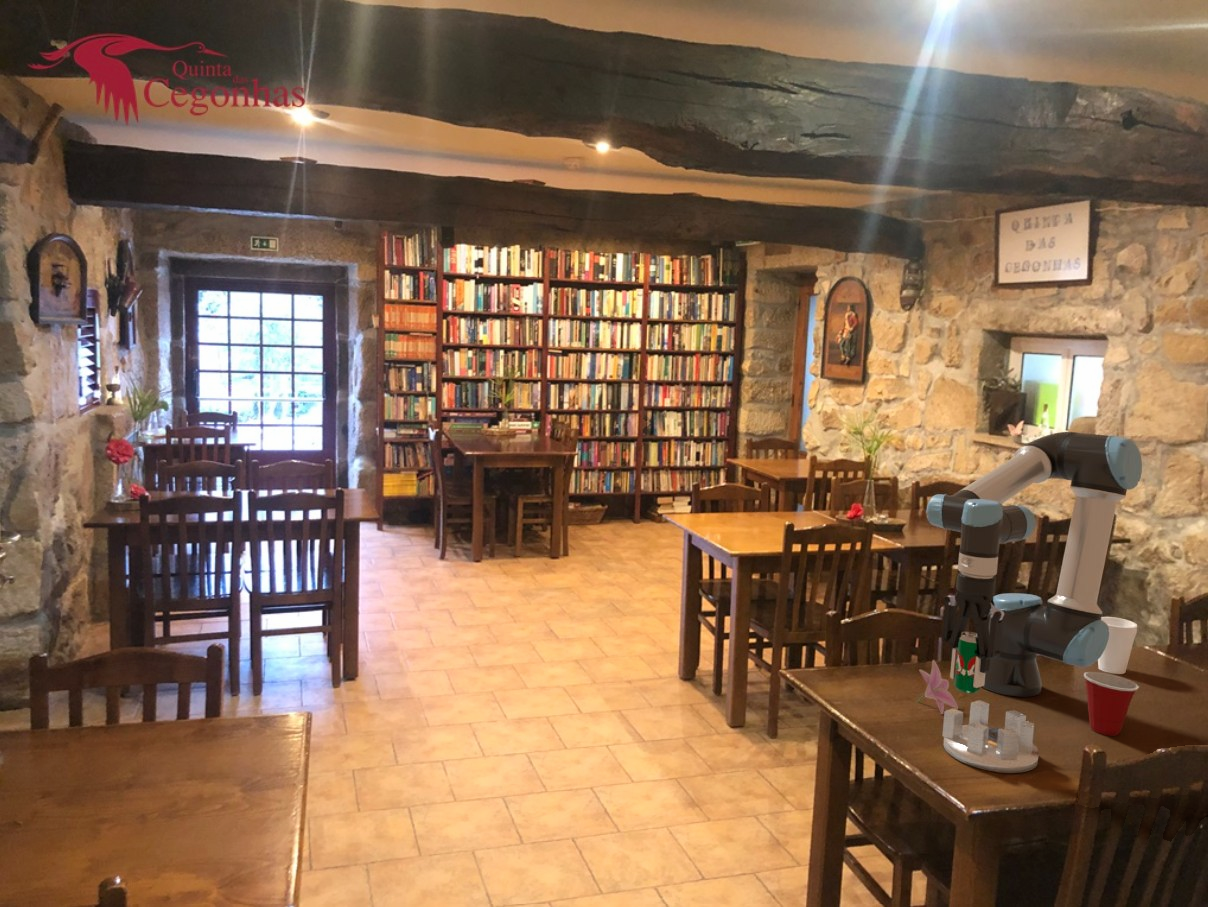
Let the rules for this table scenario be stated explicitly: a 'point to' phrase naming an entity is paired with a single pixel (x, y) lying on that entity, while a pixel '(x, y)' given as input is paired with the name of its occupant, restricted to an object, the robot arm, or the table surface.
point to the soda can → (966, 662)
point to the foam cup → (1117, 645)
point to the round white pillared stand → (990, 740)
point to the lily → (937, 688)
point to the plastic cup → (1108, 701)
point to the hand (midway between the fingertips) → (966, 681)
